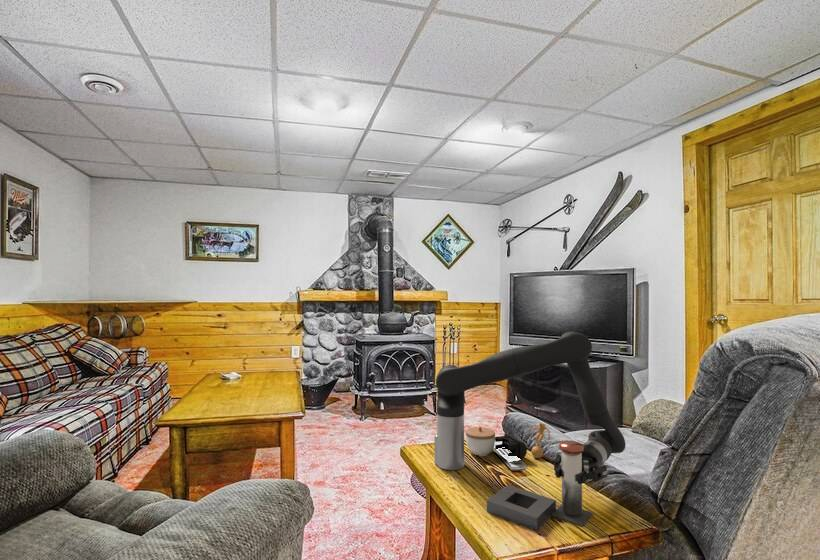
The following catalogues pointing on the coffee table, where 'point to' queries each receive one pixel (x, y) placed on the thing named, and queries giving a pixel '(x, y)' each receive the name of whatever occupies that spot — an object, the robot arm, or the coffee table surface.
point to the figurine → (537, 450)
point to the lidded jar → (480, 440)
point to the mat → (572, 516)
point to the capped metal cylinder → (571, 476)
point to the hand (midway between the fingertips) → (568, 477)
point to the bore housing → (530, 517)
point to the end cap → (512, 445)
